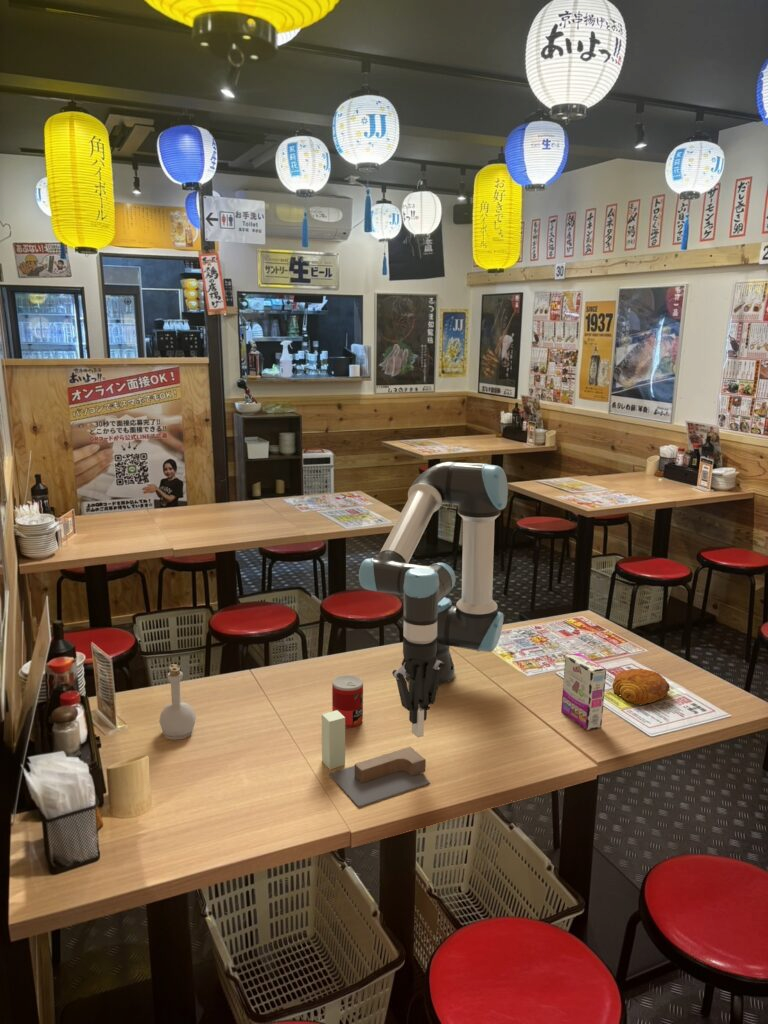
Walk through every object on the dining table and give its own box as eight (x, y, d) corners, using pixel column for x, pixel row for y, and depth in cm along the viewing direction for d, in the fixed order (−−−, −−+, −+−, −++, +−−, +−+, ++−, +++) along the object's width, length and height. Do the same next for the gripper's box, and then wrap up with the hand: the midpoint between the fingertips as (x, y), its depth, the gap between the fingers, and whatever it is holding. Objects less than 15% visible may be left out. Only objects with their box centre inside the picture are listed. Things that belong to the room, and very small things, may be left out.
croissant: (676, 704, 206) (682, 678, 205) (641, 711, 197) (647, 683, 196) (633, 683, 218) (639, 658, 216) (599, 689, 209) (604, 663, 207)
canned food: (359, 729, 186) (359, 689, 183) (328, 726, 187) (328, 686, 185) (365, 715, 193) (366, 676, 190) (336, 712, 194) (336, 673, 192)
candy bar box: (602, 727, 188) (607, 668, 185) (587, 731, 186) (591, 671, 183) (575, 708, 198) (579, 651, 195) (560, 711, 196) (564, 654, 193)
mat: (397, 754, 175) (397, 752, 175) (429, 783, 163) (429, 782, 163) (329, 774, 166) (329, 773, 166) (358, 807, 154) (358, 806, 154)
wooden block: (410, 758, 172) (354, 776, 164) (410, 746, 171) (354, 763, 164) (425, 772, 167) (368, 791, 159) (426, 759, 166) (368, 778, 158)
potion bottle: (184, 720, 189) (181, 655, 185) (202, 733, 183) (199, 666, 179) (153, 732, 183) (148, 665, 179) (170, 746, 177) (166, 677, 173)
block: (337, 756, 173) (337, 710, 171) (345, 764, 170) (345, 717, 167) (322, 761, 171) (321, 714, 169) (329, 769, 168) (329, 721, 165)
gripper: (434, 626, 169) (432, 720, 174) (386, 637, 162) (384, 734, 167) (453, 637, 162) (450, 734, 167) (403, 649, 156) (401, 749, 161)
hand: (417, 734), depth 167 cm, fingers closed
